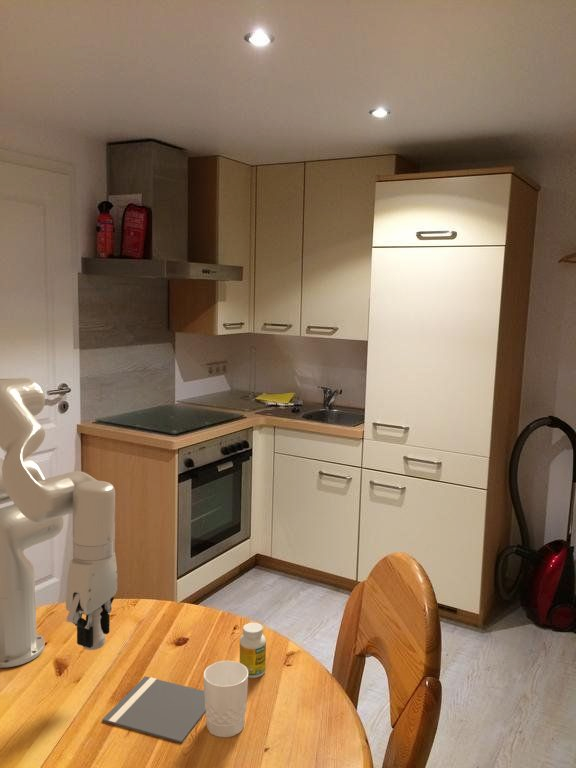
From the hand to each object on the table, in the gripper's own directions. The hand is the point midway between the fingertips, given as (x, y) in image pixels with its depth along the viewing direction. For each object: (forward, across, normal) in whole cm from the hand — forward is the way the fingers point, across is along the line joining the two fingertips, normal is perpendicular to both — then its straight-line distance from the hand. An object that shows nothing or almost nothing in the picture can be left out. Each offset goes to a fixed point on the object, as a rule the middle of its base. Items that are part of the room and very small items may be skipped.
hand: (93, 637), depth 122 cm
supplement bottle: (+10, -17, +26) cm, 33 cm away
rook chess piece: (+2, 0, 0) cm, 2 cm away
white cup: (+10, 0, +28) cm, 30 cm away
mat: (+10, 0, +15) cm, 18 cm away
